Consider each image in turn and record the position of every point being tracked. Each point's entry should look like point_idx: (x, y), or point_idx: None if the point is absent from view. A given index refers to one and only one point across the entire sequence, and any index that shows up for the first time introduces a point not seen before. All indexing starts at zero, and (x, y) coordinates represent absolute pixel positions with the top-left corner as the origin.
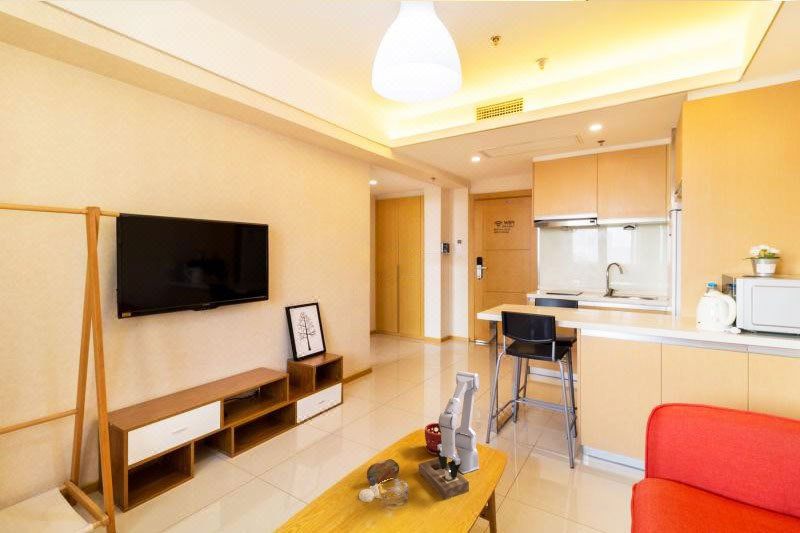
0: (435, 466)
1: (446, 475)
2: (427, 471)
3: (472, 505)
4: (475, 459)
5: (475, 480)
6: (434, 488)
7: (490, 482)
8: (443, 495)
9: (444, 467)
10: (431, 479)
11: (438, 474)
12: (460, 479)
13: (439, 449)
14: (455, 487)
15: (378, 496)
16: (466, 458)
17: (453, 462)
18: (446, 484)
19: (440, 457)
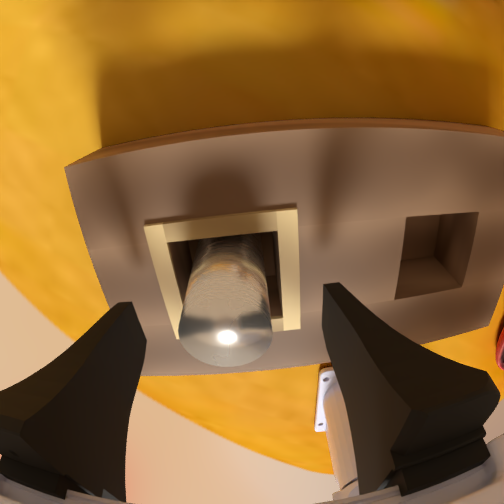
0: (457, 254)
1: (203, 276)
2: (429, 141)
3: (36, 284)
4: (333, 457)
5: (238, 391)
6: (260, 122)
7: (199, 423)
8: (111, 148)
9: (326, 318)
10: (324, 124)
11: (334, 218)
12: (180, 348)
13: (482, 461)
14: (101, 272)
15: None
16: (342, 452)
17: (27, 468)
18: (139, 218)
19: (382, 390)
